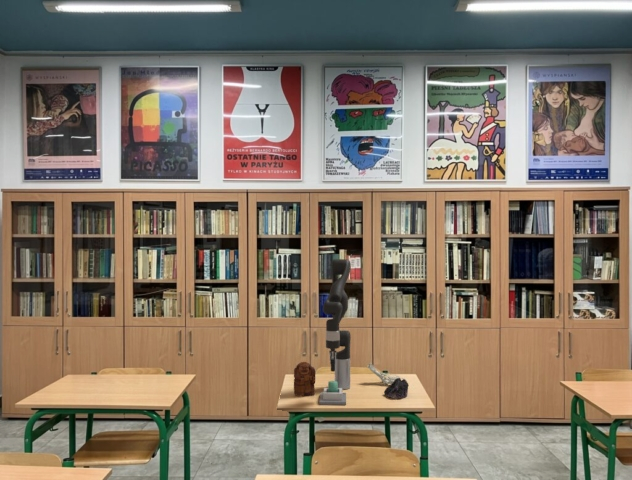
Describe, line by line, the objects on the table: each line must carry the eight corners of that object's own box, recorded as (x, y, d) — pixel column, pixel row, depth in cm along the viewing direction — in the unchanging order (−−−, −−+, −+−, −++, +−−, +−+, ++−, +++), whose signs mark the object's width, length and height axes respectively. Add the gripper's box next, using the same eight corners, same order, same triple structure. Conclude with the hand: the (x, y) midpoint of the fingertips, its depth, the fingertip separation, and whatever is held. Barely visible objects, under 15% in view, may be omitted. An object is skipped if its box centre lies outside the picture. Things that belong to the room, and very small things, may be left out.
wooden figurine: (295, 396, 272) (294, 364, 272) (293, 393, 278) (293, 361, 278) (316, 395, 274) (316, 363, 274) (314, 392, 280) (314, 360, 280)
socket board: (320, 395, 275) (320, 386, 275) (345, 395, 274) (345, 386, 274) (319, 404, 258) (319, 395, 258) (346, 405, 257) (345, 395, 257)
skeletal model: (409, 387, 289) (377, 358, 290) (398, 399, 289) (366, 369, 291) (406, 380, 305) (376, 352, 306) (395, 390, 305) (365, 362, 307)
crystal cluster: (383, 400, 268) (385, 382, 267) (383, 390, 281) (384, 373, 281) (408, 402, 266) (410, 385, 266) (407, 393, 280) (408, 376, 279)
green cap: (328, 395, 269) (328, 380, 269) (337, 395, 268) (337, 381, 268) (328, 398, 264) (328, 383, 264) (337, 398, 263) (337, 383, 263)
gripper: (326, 336, 273) (326, 368, 273) (325, 341, 260) (325, 374, 260) (339, 336, 273) (339, 368, 273) (339, 341, 260) (339, 374, 259)
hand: (332, 371), depth 266 cm, fingers closed
